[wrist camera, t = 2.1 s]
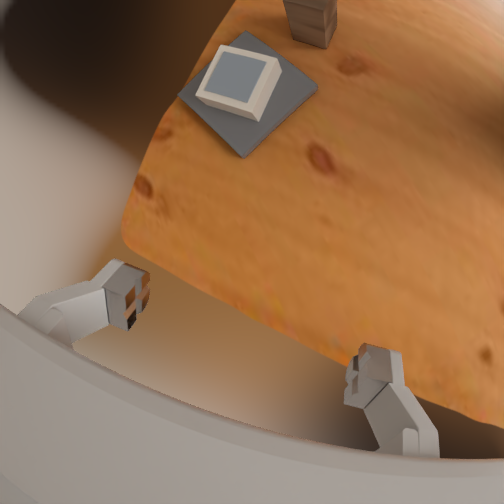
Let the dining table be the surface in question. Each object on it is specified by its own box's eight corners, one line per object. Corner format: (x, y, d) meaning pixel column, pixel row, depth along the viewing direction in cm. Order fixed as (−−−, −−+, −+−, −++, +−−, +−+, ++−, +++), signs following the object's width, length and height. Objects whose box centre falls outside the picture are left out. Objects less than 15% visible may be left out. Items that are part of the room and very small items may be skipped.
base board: (248, 35, 40) (238, 15, 34) (318, 89, 39) (316, 71, 33) (181, 98, 43) (163, 85, 38) (244, 158, 42) (231, 150, 36)
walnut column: (305, 15, 38) (297, -25, 28) (337, 25, 37) (336, -16, 27) (293, 39, 39) (282, 0, 29) (326, 49, 38) (323, 10, 28)
